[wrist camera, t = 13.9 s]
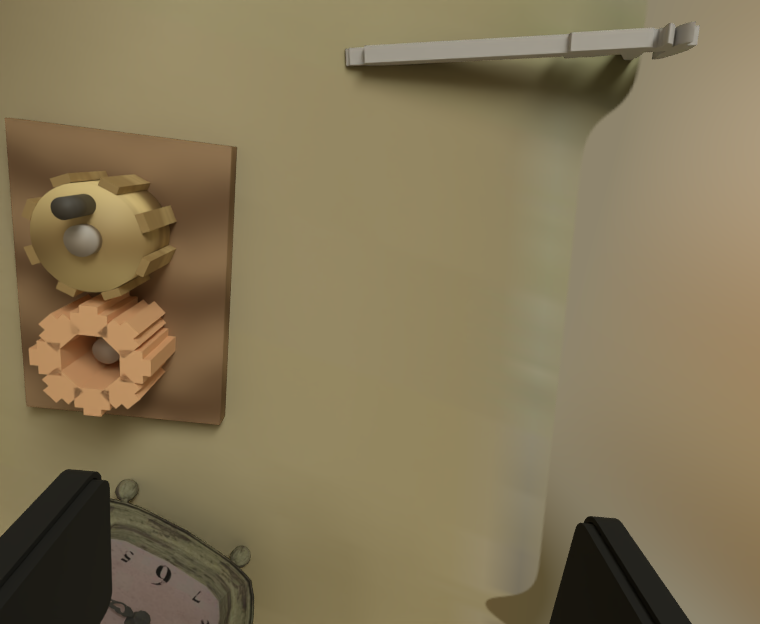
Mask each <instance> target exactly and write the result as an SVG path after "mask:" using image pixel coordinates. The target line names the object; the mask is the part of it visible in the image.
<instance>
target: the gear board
mask: <svg viewBox="0 0 760 624" xmlns="http://www.w3.org/2000/svg"><path fill="white" fill-rule="evenodd" d="M5 127H6V140H7V153H8V166H9V180H10V193H11V206H12V219H13V233H14V246H15V259H16V272H17V286H18V299H19V312H20V325H21V339H22V352H23V365H24V378H25V391H26V405H27V406H29V407H40V408H50V409H60V410H71V411H81V412H84V409H83V408H78V407H75V404H74V400H73V401H72V402H71V403H69V404H67V403H66V402H65V401H64V400H63V399H60V400H59V401H58V402H57V403H56V402H55V401H54V400H53V399H52V398H51V397H50V396H49V395H47V394H46V393H45V392H44V391H43V390H44V389H45V388H47V387H48V385H47V384H46V383H45V382H44V381H43V380H42V379H43V378H44V377H45V376H47V375H46V374H39V371H38V366H36V365H30V361H29V348H30V347H32V346H34V345H35V344H37V343H36V341H37V340H39V339H41V337H40V336H39V335H40V334H41V333H42V332H43V331H44V329H43V328H42V327H41V326H40V325H39V323H40V322H41V321H42V320H44V319H45V318H46V317H47V316H48V315H49V314H50V313H52V312H54V311H56V310H58V309H60V308H62V307H64V306H66V305H68V304H70V303H72V302H74V301H76V300H78V299H80V298H82V297H84V296H86V295H88V294H89V295H90V296H91V297H92V298H93V297H95V296H97V295H99V294H102V297H103V299H104V300H108V299H111V298H115V297H119V296H122V295H123V294H125V293H127V292H129V294H130V296H136V297H138V303H139V302H140V301H142V300H144V301H145V302H146V303H147V304H148V305H149V304H151V303H152V302H154V301H155V302H156V303H157V304H158V306H159V307H160V308H161V309H162V310H163V311H164V312H165V314H164V315H163V316H161V318H162V319H163V320H164V321H165V322H166V324H165V325H163V326H162V327H161V328H168V336H175V337H176V346H175V352H174V353H173V354H172V355H171V356H170V357H169V358H168V359H167V360H166V361H165V362H166V363H165V364H164V365H163V366H162V367H161V368H162V369H163V370H164V371H165V373H164V374H163V375H162V376H161V377H160V378H159V379H158V380H157V381H156V383H155V384H154V385H153V386H152V387H151V388H150V389H149V390H148V391H147V392H146V393H145V395H144V396H143V397H142V398H141V399H140V400H139V401H137V402H136V403H135V404H134V405H132V406H131V407H130V408H129V409H127V408H126V407H125V406H124V405H123V404H121V405H120V406H119V407H117V408H115V407H113V408H112V409H111V410H107V411H106V412H105V413H104V414H112V415H122V416H133V417H143V418H153V419H164V420H174V421H185V422H195V423H205V424H216V425H220V424H221V422H222V420H223V418H224V416H225V405H226V383H227V360H228V338H229V315H230V292H231V270H232V247H233V224H234V202H235V179H236V156H237V147H233V146H225V145H217V144H209V143H202V142H194V141H186V140H178V139H171V138H163V137H155V136H147V135H139V134H132V133H124V132H116V131H108V130H101V129H93V128H85V127H77V126H70V125H62V124H54V123H46V122H38V121H31V120H23V119H14V118H5ZM92 351H93V355H94V356H95V358H96V359H97V360H98V361H100V362H102V363H105V364H111V363H114V362H116V361H118V362H120V355H119V354H118V353H117V352H116V351H115V350H114V349H113V348H112V347H111V346H110V345H109V344H108V343H107V342H106V341H105V340H104V339H103V338H102V337H97V336H96V342H95V343H94V344H93V347H92Z"/></svg>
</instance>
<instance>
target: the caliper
mask: <svg viewBox="0 0 760 624" xmlns="http://www.w3.org/2000/svg"><path fill="white" fill-rule="evenodd" d="M695 24H696V22H690V23H686V24H683V25H680V26H678V27H676V28H675V24H673V23H669V24H667V25H666V26H665V27H664V28H660V29H655V28H639V29H622V30H605V31H589V32H572V33H570V34H562V35H544V36H526V37H509V38H491V39H473V40H455V41H438V42H420V43H403V44H386V45H368V46H364V47H360V48H349V49H345V50H346V66H361V65H367V66H376V65H404V64H424V63H443V62H463V61H482V60H502V59H522V58H542V57H562V56H564V58H576V57H596V56H607V55H619V54H621V55H622V57H623V59H624V60H633V59H634V58H637V57H639V56H640V55H642V54H643V53H644V52H653V57H652V59H660V58H665V57H668V56H672V55H675V54H678V53H681V52H684V51H687V50H689V49H691V48H692V47H694V46H696V45H697V41H698V34H699V27H700V26H699V25H697V26H695Z"/></svg>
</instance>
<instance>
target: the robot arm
mask: <svg viewBox="0 0 760 624" xmlns="http://www.w3.org/2000/svg"><path fill="white" fill-rule="evenodd" d="M111 597H112V559H111V522H110V487H109V483H108V481H106V480H101V475H100V473H98V472H93V471H82V470H71V469H68V470H65V471H63V472H62V473H61V474H60V475H59V476H58V477H57V478H56V479H55V480H54V481H53V482H52V483H51V485H50V486H49V487H48V488H47V489H46V490H45V491H44V492H43V493H42V494H41V495H40V496H39V497H38V498H37V499H36V500H35V501H34V502H33V503H32V504H31V506H30V507H29V508H28V509H27V510H26V511H25V512H24V513H23V514H22V515H21V516H20V517H19V518H18V519H17V520H16V521H15V522H14V523H13V524H12V525H11V526H10V528H9V529H8V530H7V531H6V532H5V533H4V534H3V535H2V536H1V537H0V624H100V623H101V621H102V620H103V618H104V616H105V614H106V612H107V610H108V608H109V605H110V601H111ZM550 624H692V623H691V622H690V621H689V619H688V618H687V616H686V615H685V613H684V612H683V610H682V609H681V608H680V606H679V605H678V603H677V602H676V600H675V599H674V598H673V596H672V595H671V593H670V592H669V590H668V589H667V587H666V586H665V585H664V583H663V582H662V580H661V579H660V577H659V576H658V574H657V573H656V572H655V570H654V569H653V567H652V566H651V565H650V563H649V561H648V560H647V559H646V557H645V556H644V554H643V553H642V551H641V550H640V549H639V547H638V546H637V544H636V543H635V541H634V540H633V538H632V537H631V536H630V534H629V533H628V531H627V530H626V528H625V527H624V525H623V524H622V523H621V522H620V521H619V520H618V519H615V518H604V517H593V516H590V517H587V518H586V519H585V521H584V523H579V524H578V525H577V526H576V529H575V532H574V536H573V540H572V543H571V547H570V551H569V554H568V558H567V561H566V565H565V569H564V572H563V576H562V580H561V583H560V587H559V591H558V594H557V598H556V601H555V605H554V609H553V612H552V616H551V620H550Z"/></svg>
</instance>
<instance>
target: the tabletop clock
mask: <svg viewBox="0 0 760 624" xmlns="http://www.w3.org/2000/svg"><path fill="white" fill-rule="evenodd" d="M137 492H138V485H137V483H136V482H135V481H133V480H130V479H127V480H123V481H121V482H120V483H119V485H118V486H117V488H116V491H115V493H116V496H117V498H118V499H120V500H121V501H119V500H115V499H110V522H111V559H112V597H111V601H110V605H109V608H108V610H107V612H106V614H105V616H104V618H103V620H102V621H101V623H100V624H253V615H254V595H253V588H252V581H251V580H250V579H249V577H248V576H247V575H246V574H245V573H244V572H243V571H242V570H241V569H240V568H241V567H244V566H245V565H246V564H248V562H249V561H250V558H251V555H250V551H249V549H248V548H246V547H245V546H239V547H237V548H236V549H234V550H233V551H232V553H231V560H230V559H229V558H227V557H226V556H224V555H223V554H221V553H220V552H218V551H217V550H215V549H214V548H212V547H211V546H209V545H208V544H206V543H205V542H203V541H202V540H200V539H199V538H197V537H196V536H194V535H193V534H191V533H190V532H188V531H186V530H184V529H182V528H181V527H179V526H177V525H175V524H173V523H171V522H169V521H167V520H165V519H163V518H161V517H159V516H157V515H155V514H153V513H151V512H149V511H147V510H145V509H143V508H141V507H139V506H136V505H133V504H130V503H129V500H131V499H133V498H134V497H135V495H136V494H137ZM239 567H240V568H239Z"/></svg>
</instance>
